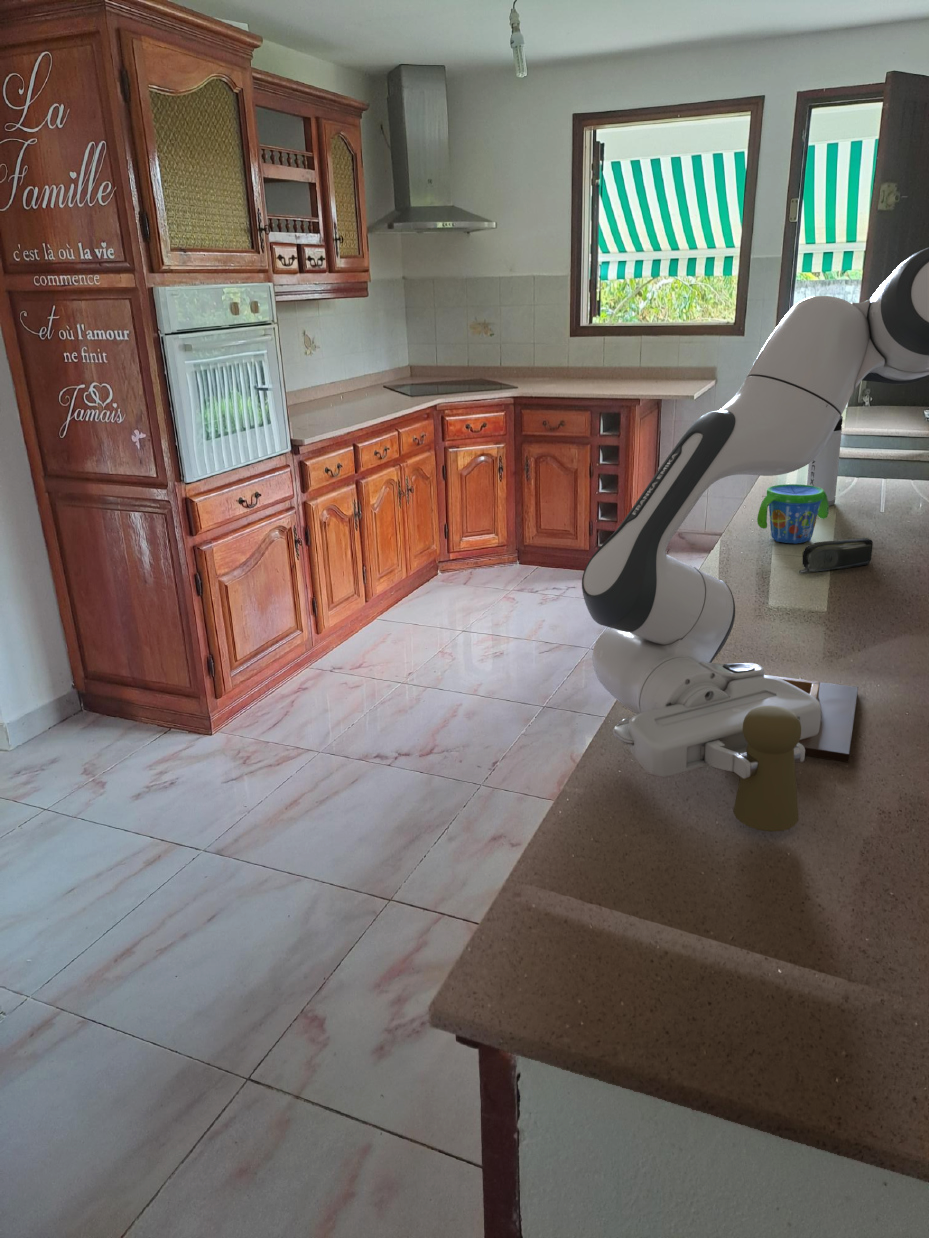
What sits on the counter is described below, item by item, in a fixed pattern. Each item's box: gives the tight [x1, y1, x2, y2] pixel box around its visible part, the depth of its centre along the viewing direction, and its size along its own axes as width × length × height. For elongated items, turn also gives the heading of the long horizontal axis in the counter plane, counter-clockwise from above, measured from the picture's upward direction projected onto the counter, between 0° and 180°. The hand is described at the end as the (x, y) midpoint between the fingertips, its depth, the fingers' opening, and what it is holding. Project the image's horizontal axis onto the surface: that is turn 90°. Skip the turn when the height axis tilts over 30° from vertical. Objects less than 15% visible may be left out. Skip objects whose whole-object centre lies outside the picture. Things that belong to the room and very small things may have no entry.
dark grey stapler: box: [798, 537, 874, 575], centre depth 156 cm, size 5×3×15 cm
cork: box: [732, 706, 801, 832], centre depth 83 cm, size 6×6×11 cm
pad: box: [765, 674, 859, 763], centre depth 106 cm, size 18×18×3 cm
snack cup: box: [756, 483, 830, 545], centre depth 173 cm, size 16×10×10 cm
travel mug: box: [806, 415, 844, 507], centre depth 197 cm, size 6×7×20 cm
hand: (776, 763), depth 82 cm, fingers closed on cork, 4 cm apart
